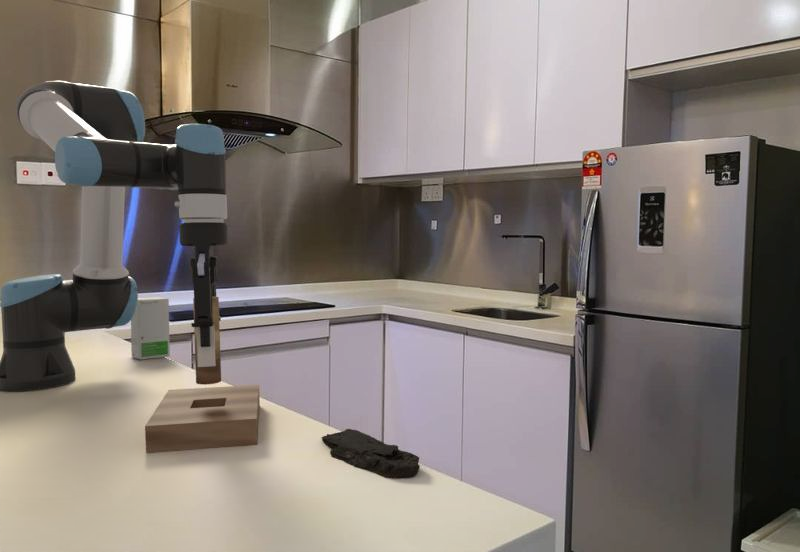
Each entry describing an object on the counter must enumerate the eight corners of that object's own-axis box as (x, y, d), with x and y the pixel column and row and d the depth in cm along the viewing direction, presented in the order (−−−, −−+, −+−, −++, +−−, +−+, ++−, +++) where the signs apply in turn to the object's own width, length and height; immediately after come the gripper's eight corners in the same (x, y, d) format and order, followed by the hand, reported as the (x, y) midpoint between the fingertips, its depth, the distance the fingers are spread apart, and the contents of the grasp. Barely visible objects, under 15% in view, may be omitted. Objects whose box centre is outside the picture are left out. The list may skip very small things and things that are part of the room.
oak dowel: (197, 379, 106) (194, 297, 105) (222, 378, 106) (219, 296, 106) (194, 385, 102) (191, 299, 101) (220, 383, 102) (217, 298, 102)
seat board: (169, 411, 114) (168, 389, 114) (259, 405, 117) (259, 384, 117) (145, 452, 92) (144, 426, 92) (257, 444, 96) (256, 418, 95)
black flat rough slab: (304, 444, 97) (304, 425, 97) (346, 434, 101) (345, 416, 101) (386, 492, 79) (386, 468, 79) (432, 477, 83) (432, 455, 83)
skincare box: (139, 360, 161) (136, 300, 160) (130, 357, 166) (128, 298, 165) (171, 356, 166) (169, 297, 165) (162, 352, 171) (160, 296, 170)
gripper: (186, 223, 110) (190, 355, 111) (171, 220, 93) (176, 375, 95) (230, 222, 111) (234, 353, 113) (223, 219, 95) (228, 372, 96)
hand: (208, 363), depth 104 cm, fingers closed on oak dowel, 4 cm apart
